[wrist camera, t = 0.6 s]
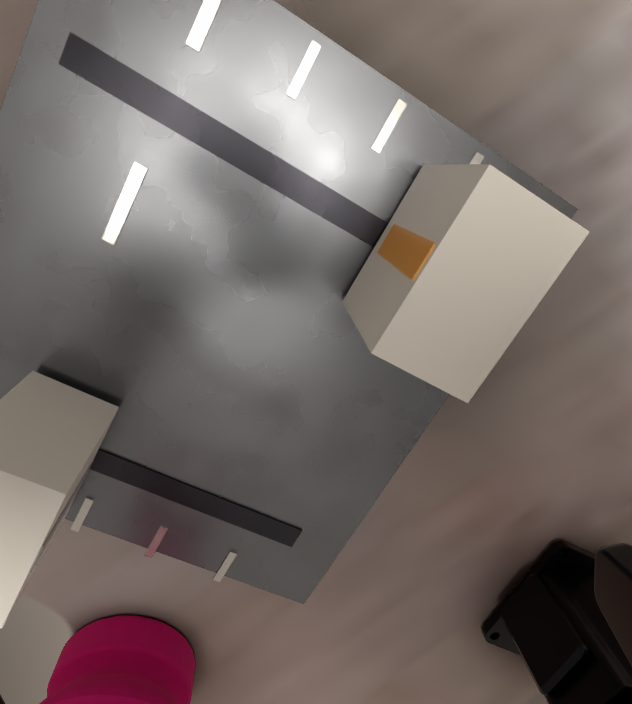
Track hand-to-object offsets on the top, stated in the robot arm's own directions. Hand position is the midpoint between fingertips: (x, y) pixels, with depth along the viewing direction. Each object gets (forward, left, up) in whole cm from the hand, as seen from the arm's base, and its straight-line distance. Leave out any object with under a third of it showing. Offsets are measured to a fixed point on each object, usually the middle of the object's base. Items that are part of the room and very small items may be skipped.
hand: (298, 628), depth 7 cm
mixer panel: (+2, 0, -13) cm, 13 cm away
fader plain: (+6, +7, -11) cm, 14 cm away
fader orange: (-2, -5, -11) cm, 12 cm away
